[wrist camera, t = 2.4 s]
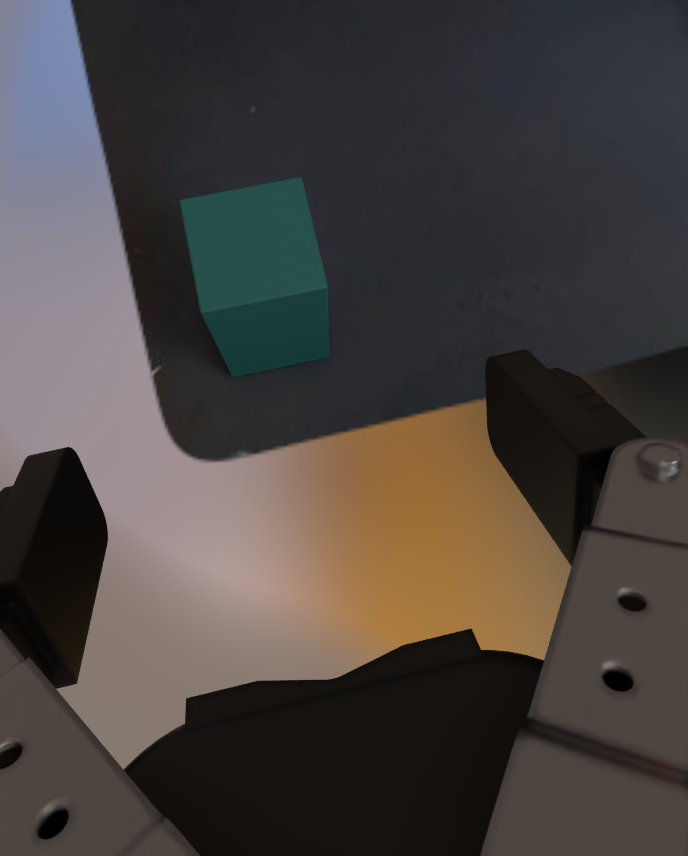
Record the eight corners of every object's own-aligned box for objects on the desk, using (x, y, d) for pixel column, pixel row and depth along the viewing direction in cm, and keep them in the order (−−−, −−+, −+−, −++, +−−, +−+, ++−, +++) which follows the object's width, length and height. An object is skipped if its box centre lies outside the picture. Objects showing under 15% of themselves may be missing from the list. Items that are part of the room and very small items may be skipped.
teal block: (232, 378, 32) (200, 313, 24) (214, 288, 33) (178, 199, 26) (329, 357, 33) (328, 287, 25) (308, 269, 34) (301, 175, 26)
